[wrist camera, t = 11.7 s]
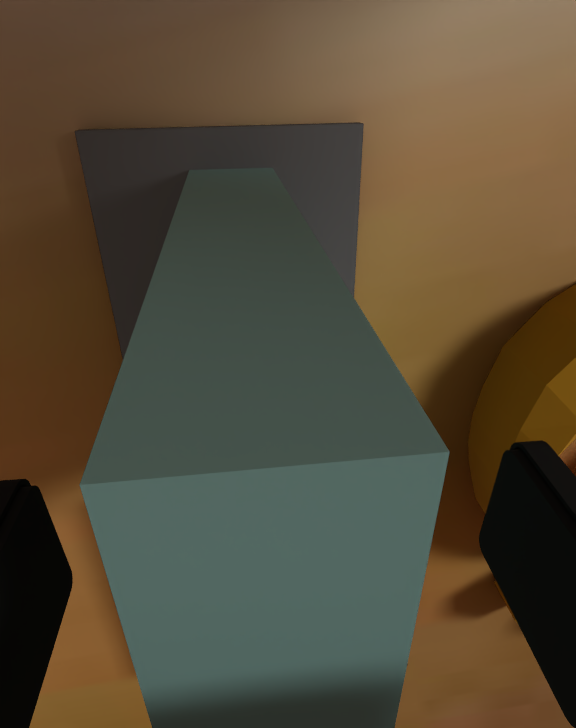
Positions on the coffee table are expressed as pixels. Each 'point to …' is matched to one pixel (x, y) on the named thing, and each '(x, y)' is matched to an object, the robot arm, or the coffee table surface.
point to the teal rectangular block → (261, 478)
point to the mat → (202, 152)
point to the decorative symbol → (527, 394)
